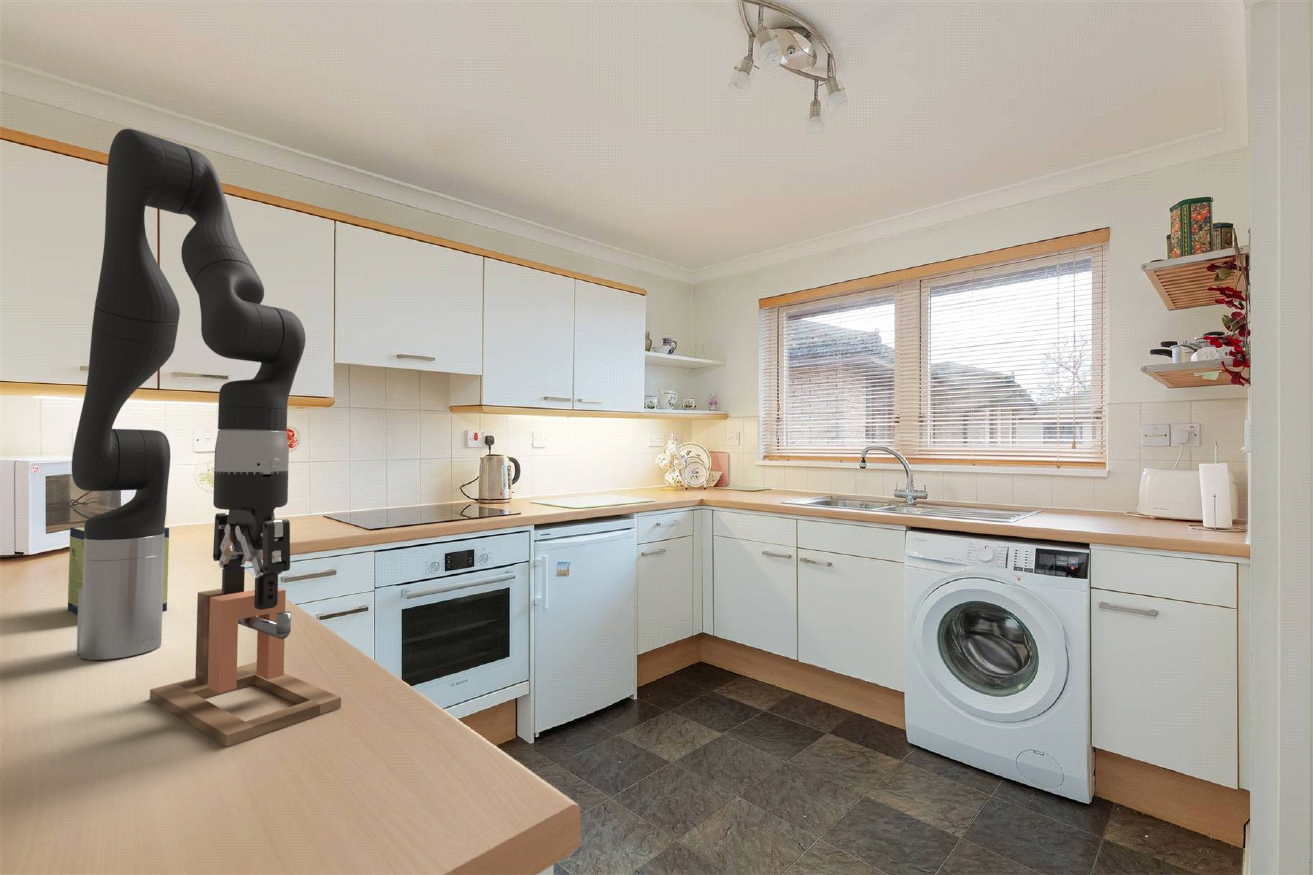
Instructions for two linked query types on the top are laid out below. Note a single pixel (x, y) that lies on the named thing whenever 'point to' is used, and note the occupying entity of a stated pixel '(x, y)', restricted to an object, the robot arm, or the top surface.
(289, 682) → the wooden hook stand
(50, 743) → the top surface
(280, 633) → the hook arm
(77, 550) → the protein box
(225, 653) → the salmon wooden arch
